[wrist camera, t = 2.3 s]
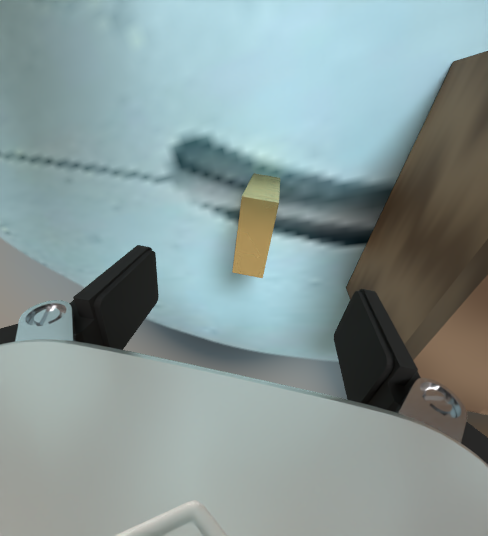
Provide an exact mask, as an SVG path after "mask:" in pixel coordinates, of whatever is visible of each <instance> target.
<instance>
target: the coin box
mask: <svg viewBox="0 0 488 536" xmlns="http://www.w3.org/2000/svg"><path fill="white" fill-rule="evenodd" d="M346 289H347V292H348V295H349V297H350V300H351V298H352V296H353V294H354V292H355V291H359V290H360V289H366V290H371V291H375V292H376V293H377V295H378V297H379V299H380V300H381V302H382V304H383V306H384V308H385V310H386V311H387V313H388V315H389V317H390V319H391V321H392V322H393V324H394V326H395V328H396V330H397V332H398V333H399V335H400V337H401V339H402V341H403V343H404V344H405V346H406V348H407V350H408V352H409V354H410V356H411V357H412V359H413V361H414V363H415V365H416V367H417V368H418V373H419V375H420V377H421V378H429V379H432V380H435V381H437V382H439V383H441V384H442V385H444V386H446V387H447V388H448V389H450V390H451V391H452V392H453V393H454V394H455V395H456V396H457V397H458V398H459V399H460V400H461V402H462V403H463V405H464V406H465V409H466V411H471V412H476V413H481V414H485V415H488V51H486V52H483V53H479V54H476V55H473V56H470V57H467V58H463V59H460V60H457V61H454V62H453V63H452V65H451V67H450V70H449V72H448V74H447V76H446V78H445V80H444V82H443V84H442V86H441V89H440V91H439V93H438V95H437V97H436V99H435V101H434V103H433V105H432V107H431V110H430V112H429V114H428V116H427V118H426V120H425V122H424V124H423V126H422V129H421V131H420V133H419V135H418V137H417V139H416V141H415V143H414V145H413V148H412V150H411V152H410V154H409V156H408V158H407V160H406V162H405V164H404V167H403V169H402V171H401V173H400V175H399V177H398V179H397V181H396V183H395V185H394V188H393V190H392V192H391V194H390V196H389V198H388V200H387V202H386V204H385V207H384V209H383V211H382V213H381V215H380V217H379V219H378V221H377V223H376V226H375V228H374V230H373V232H372V234H371V236H370V238H369V240H368V242H367V244H366V247H365V249H364V251H363V253H362V255H361V257H360V259H359V261H358V263H357V266H356V268H355V270H354V272H353V274H352V276H351V278H350V280H349V282H348V285H347V287H346Z"/></svg>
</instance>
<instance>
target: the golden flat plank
mask: <svg viewBox="0 0 488 536" xmlns="http://www.w3.org/2000/svg"><path fill="white" fill-rule="evenodd" d="M279 191H280V178H277V177H271V176H265V175H259V174H253V176H252V178H251V180H250V182H249V184H248V186H247V188H246V189H245V191H244V193H243V195H242V200H241V208H240V216H239V224H238V232H237V239H236V247H235V255H234V263H233V271H232V272H233V273H238V274H243V275H249V276H254V277H259V278H263V274H264V269H265V265H266V260H267V255H268V251H269V246H270V242H271V237H272V232H273V228H274V223H275V219H276V214H277V209H278V205H279Z"/></svg>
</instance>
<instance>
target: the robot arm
mask: <svg viewBox="0 0 488 536" xmlns="http://www.w3.org/2000/svg"><path fill="white" fill-rule="evenodd" d="M157 301H158V284H157V270H156V257H155V252H154V251H152V249H151V248H150V247H145V246H140V245H137V246H136V247H135V248H133V249H132V250H131V251H130V252H128V253H127V254H126V255H125V256H124V257H122V258H121V259H120V260H119V261H117V262H116V263H115V264H114V265H112V266H111V267H110V268H109V269H108V270H106V271H105V272H104V273H103V274H101V275H100V276H99V277H98V278H96V279H95V280H94V281H93V282H91V283H90V284H89V285H88V286H87V287H85V288H84V289H83V290H82V291H81V292H79V293H78V294H77V295H75V296H74V300H73V301H72V302H71V303H67V302H64V301H57V300H54V301H48V302H44V303H40V304H38V305H35V306H33V307H31V308H30V309H28V310H27V311H25V312H24V313H23V314H22V315H21V318H20V320H19V324H16V325H12V326H9V327H4V328H1V329H0V536H488V438H487V437H486V436H485V435H483V434H482V433H481V432H479V431H478V430H477V429H475V428H474V427H473V426H472V425H470V424H469V423H468V422H466V421H467V411H466V409H465V406H464V405H463V403H462V402H461V400H460V399H459V398H458V397H457V396H456V395H455V394H454V393H453V392H452V391H451V390H450V389H448V388H447V387H446V386H444V385H442V384H441V383H439V382H437V381H435V380H432V379H429V378H421V377H420V375H419V373H418V368H417V367H416V365H415V363H414V361H413V359H412V357H411V356H410V354H409V352H408V350H407V348H406V346H405V344H404V343H403V341H402V339H401V337H400V335H399V333H398V332H397V330H396V328H395V326H394V324H393V322H392V321H391V319H390V317H389V315H388V313H387V311H386V310H385V308H384V306H383V304H382V302H381V300H380V299H379V297H378V295H377V293H376V292H375V291H371V290H366V289H360V290H359V291H355V292H354V294H353V296H352V298H351V300H350V302H349V304H348V306H347V308H346V310H345V312H344V314H343V317H342V319H341V321H340V323H339V325H338V327H337V329H336V331H335V334H334V342H335V346H336V351H337V355H338V359H339V364H340V368H341V373H342V377H343V381H344V386H345V390H346V394H347V399H348V400H346V399H342V398H338V397H334V396H330V395H325V394H321V393H316V392H312V391H307V390H303V389H299V388H294V387H290V386H286V385H281V384H277V383H272V382H268V381H263V380H259V379H254V378H250V377H245V376H241V375H236V374H232V373H227V372H223V371H218V370H213V369H209V368H205V367H200V366H195V365H191V364H186V363H181V362H177V361H172V360H167V359H163V358H158V357H154V356H149V355H144V354H139V353H135V352H130V351H125V350H123V348H124V347H125V346H126V344H127V343H128V341H129V340H130V339H131V337H132V336H133V335H134V333H135V332H136V330H137V329H138V328H139V326H140V325H141V324H142V322H143V321H144V319H145V318H146V317H147V315H148V314H149V313H150V311H151V310H152V308H153V307H154V306H155V304H156V303H157Z"/></svg>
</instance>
